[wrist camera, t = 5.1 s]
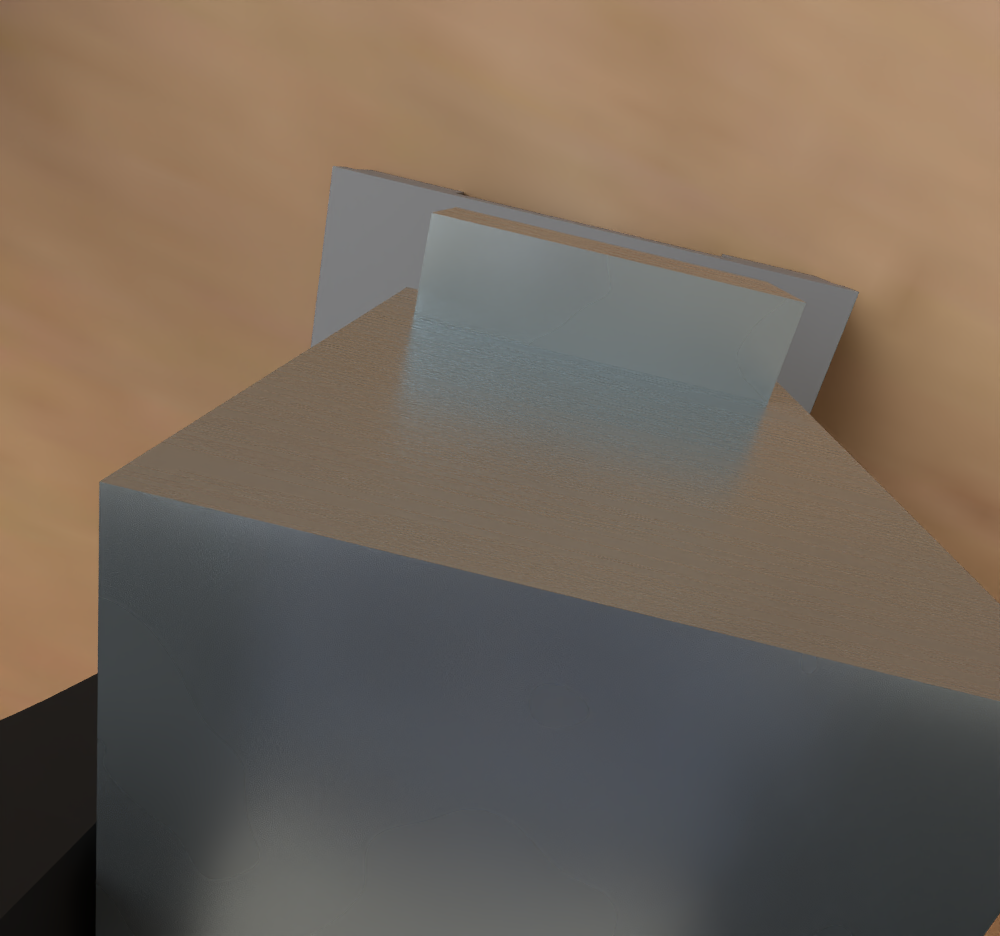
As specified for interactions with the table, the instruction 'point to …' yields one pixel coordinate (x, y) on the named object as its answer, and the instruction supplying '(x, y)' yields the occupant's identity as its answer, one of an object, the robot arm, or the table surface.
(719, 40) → the table surface
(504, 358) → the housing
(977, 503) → the table surface
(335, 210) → the stand
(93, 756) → the robot arm
